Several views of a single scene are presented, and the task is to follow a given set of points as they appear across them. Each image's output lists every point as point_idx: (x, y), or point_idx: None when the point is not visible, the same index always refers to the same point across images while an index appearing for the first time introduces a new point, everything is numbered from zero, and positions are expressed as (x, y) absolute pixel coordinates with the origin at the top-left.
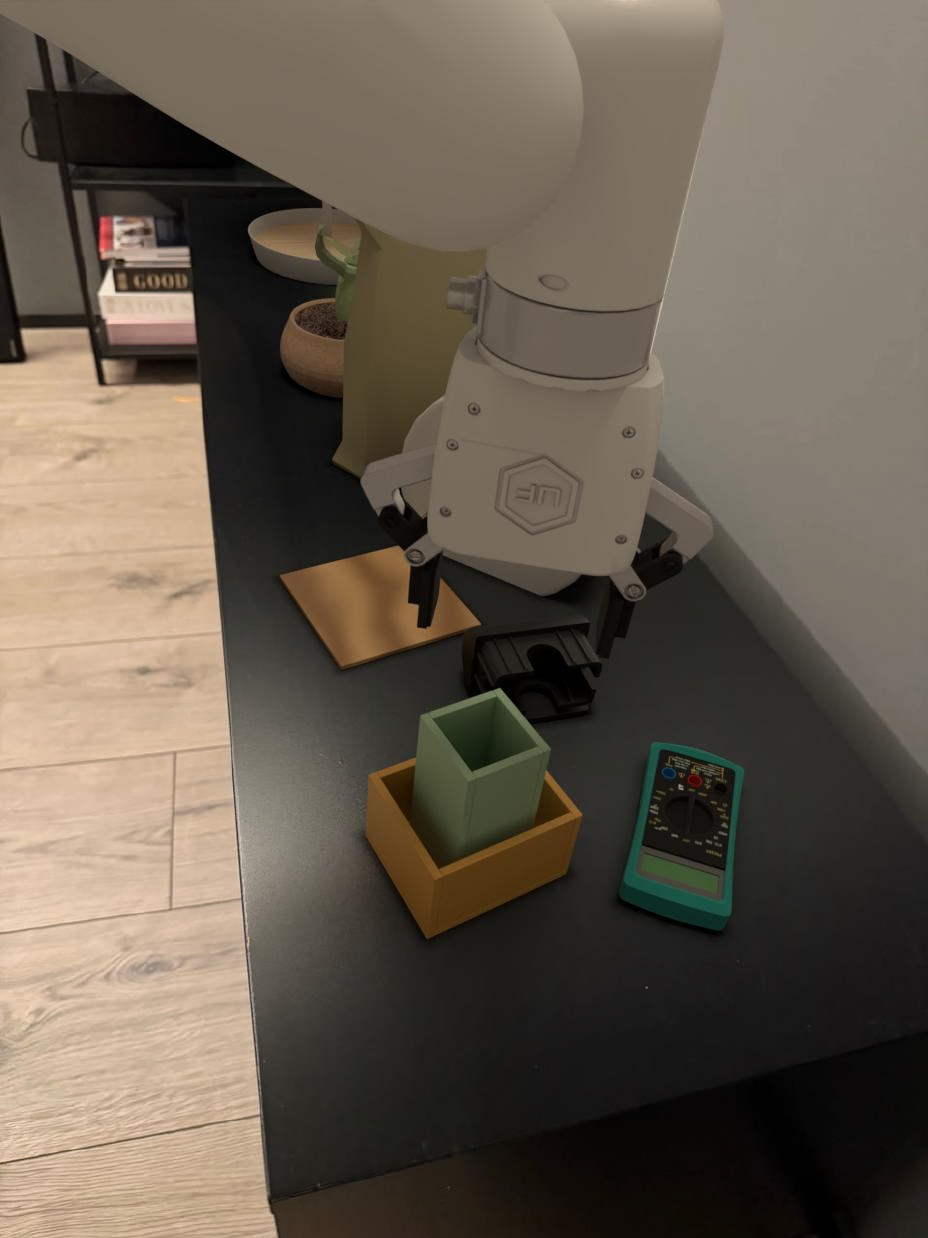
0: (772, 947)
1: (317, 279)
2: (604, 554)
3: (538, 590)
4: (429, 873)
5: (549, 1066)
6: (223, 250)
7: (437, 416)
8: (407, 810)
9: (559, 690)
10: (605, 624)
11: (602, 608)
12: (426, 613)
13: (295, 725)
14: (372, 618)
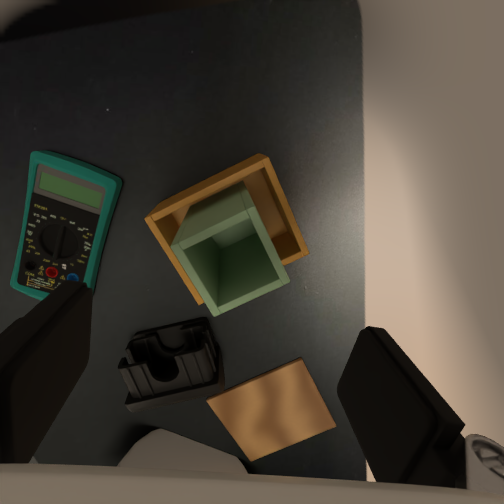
0: (5, 139)
1: None
2: None
3: (163, 432)
4: (271, 164)
5: (182, 51)
6: None
7: None
8: None
9: (154, 348)
10: (48, 328)
11: (62, 378)
12: (387, 345)
13: (331, 313)
14: (279, 398)
